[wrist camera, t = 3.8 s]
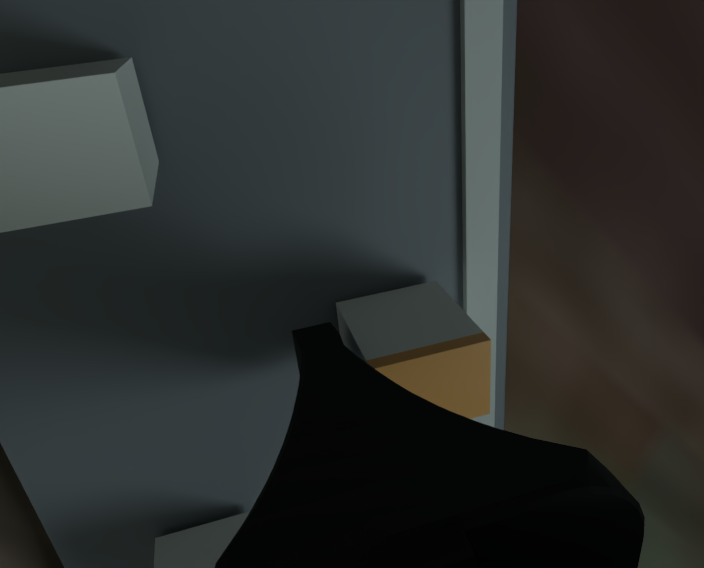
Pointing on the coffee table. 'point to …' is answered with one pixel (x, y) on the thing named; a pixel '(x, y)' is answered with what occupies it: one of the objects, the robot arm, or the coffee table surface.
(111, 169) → the block
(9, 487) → the coffee table surface
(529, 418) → the coffee table surface
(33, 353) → the breaker board
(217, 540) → the breaker
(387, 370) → the block
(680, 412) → the coffee table surface
